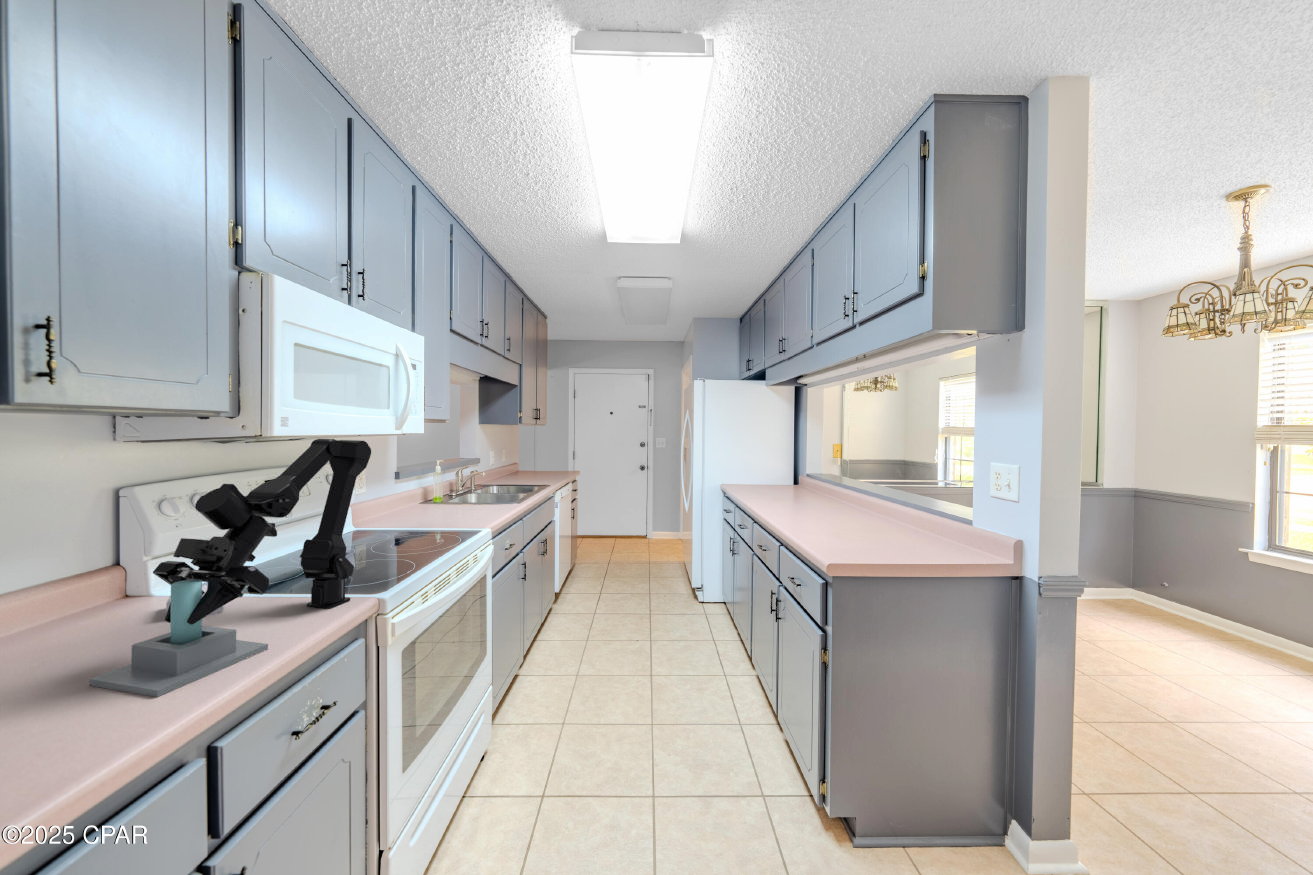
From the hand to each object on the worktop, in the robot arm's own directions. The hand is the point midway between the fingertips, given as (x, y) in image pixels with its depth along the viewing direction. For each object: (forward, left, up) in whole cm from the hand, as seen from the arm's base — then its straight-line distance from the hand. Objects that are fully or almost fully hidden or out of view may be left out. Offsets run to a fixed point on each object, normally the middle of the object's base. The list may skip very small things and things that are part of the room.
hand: (178, 622), depth 89 cm
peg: (-1, 0, -7) cm, 7 cm away
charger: (-24, -29, -8) cm, 38 cm away
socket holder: (-1, 0, -8) cm, 8 cm away
